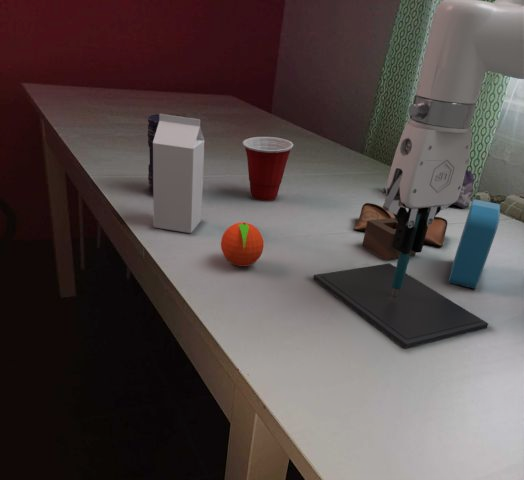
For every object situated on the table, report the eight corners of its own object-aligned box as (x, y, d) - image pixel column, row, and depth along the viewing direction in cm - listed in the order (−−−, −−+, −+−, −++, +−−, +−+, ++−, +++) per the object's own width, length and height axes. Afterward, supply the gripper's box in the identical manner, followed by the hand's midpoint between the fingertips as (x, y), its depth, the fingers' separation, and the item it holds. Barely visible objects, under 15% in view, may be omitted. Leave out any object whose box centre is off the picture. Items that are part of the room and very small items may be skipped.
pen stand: (390, 242, 104) (396, 217, 102) (414, 256, 100) (421, 230, 97) (361, 245, 101) (367, 220, 99) (385, 260, 96) (392, 234, 94)
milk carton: (191, 234, 98) (194, 123, 87) (153, 228, 98) (152, 117, 88) (201, 221, 104) (205, 116, 93) (165, 216, 104) (166, 110, 94)
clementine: (263, 277, 85) (268, 234, 81) (219, 274, 84) (222, 231, 81) (260, 257, 92) (264, 216, 88) (219, 254, 91) (221, 213, 87)
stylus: (394, 292, 83) (415, 210, 76) (401, 296, 82) (423, 214, 75) (387, 293, 83) (408, 211, 76) (393, 298, 81) (415, 214, 74)
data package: (453, 261, 99) (473, 196, 93) (478, 266, 98) (500, 202, 92) (447, 285, 90) (469, 215, 83) (475, 292, 89) (499, 221, 82)
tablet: (388, 267, 94) (389, 262, 93) (487, 328, 78) (489, 322, 78) (313, 279, 87) (313, 273, 86) (404, 348, 71) (406, 343, 70)
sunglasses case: (353, 228, 107) (361, 195, 107) (354, 236, 114) (362, 205, 114) (444, 247, 104) (453, 213, 103) (440, 253, 111) (448, 222, 110)
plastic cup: (228, 193, 121) (232, 137, 114) (263, 187, 127) (269, 134, 121) (261, 207, 114) (267, 149, 108) (296, 200, 121) (304, 145, 115)
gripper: (416, 120, 62) (381, 266, 72) (505, 121, 69) (462, 254, 79) (375, 108, 68) (348, 246, 77) (461, 109, 75) (426, 235, 85)
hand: (406, 249), depth 78 cm, fingers closed on stylus, 1 cm apart
